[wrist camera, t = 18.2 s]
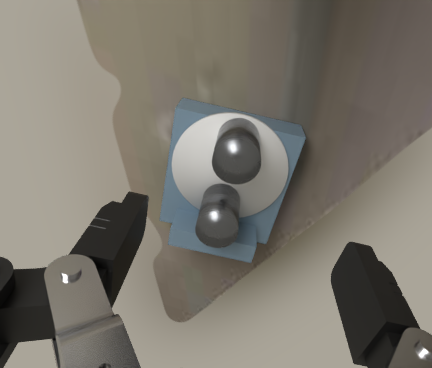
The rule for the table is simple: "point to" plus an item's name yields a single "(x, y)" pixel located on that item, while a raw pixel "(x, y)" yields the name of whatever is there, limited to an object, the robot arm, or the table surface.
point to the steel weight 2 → (218, 216)
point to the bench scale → (205, 177)
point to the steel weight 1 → (237, 152)
